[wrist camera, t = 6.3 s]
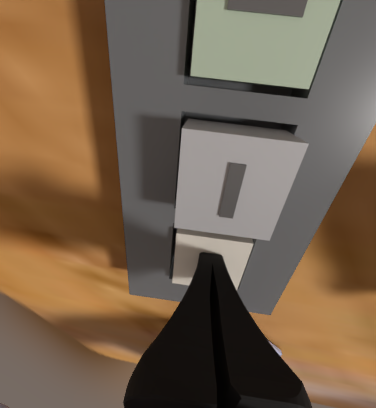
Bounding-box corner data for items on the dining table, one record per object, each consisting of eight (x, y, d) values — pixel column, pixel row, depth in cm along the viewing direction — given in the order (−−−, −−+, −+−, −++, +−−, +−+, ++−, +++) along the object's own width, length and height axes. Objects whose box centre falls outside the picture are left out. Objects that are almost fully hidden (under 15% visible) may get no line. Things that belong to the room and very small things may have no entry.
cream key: (232, 265, 16) (236, 293, 13) (177, 257, 16) (171, 284, 14) (246, 219, 13) (254, 245, 11) (181, 210, 13) (176, 234, 11)
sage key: (287, 88, 9) (309, 89, 7) (194, 77, 10) (190, 75, 7) (330, -54, 7) (382, -113, 5) (208, -65, 7) (207, -127, 5)
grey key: (258, 212, 11) (269, 242, 9) (180, 201, 11) (173, 229, 9) (286, 130, 9) (310, 144, 7) (188, 118, 9) (181, 128, 7)
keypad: (263, 289, 17) (270, 314, 15) (138, 270, 18) (129, 294, 16) (478, -176, 6) (609, -304, 4) (117, -202, 6) (76, -333, 4)
